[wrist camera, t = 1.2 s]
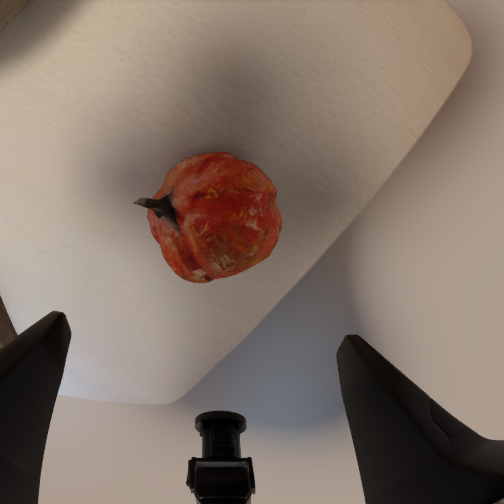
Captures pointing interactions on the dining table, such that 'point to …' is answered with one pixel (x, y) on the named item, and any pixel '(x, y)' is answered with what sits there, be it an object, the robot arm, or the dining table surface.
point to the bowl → (10, 10)
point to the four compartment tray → (5, 327)
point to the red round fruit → (214, 217)
